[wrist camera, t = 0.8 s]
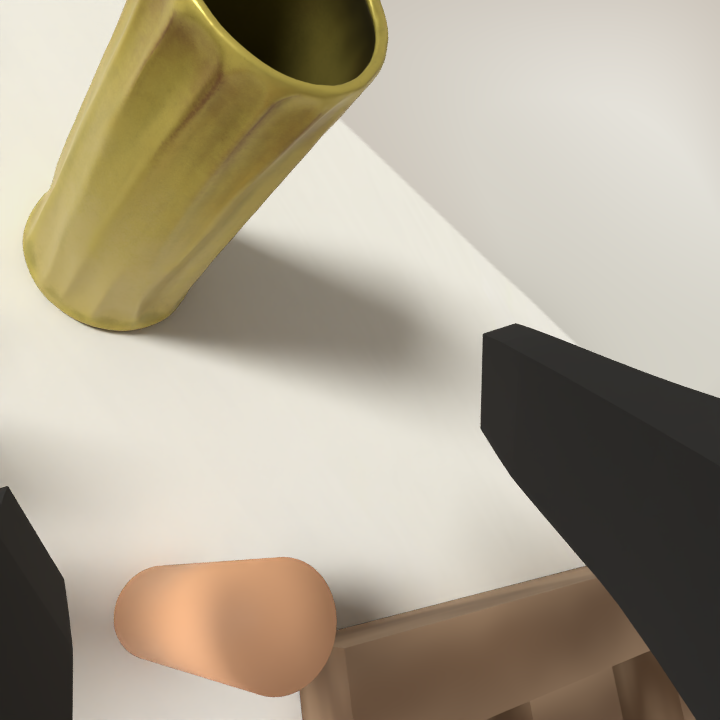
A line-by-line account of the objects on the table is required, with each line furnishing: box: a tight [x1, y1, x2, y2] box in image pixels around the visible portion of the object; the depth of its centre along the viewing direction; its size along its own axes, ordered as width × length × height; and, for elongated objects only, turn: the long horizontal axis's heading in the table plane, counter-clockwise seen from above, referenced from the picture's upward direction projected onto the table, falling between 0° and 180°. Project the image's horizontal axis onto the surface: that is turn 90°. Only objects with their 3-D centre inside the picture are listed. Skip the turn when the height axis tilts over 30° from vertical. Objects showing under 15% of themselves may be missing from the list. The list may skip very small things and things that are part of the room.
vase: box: [23, 0, 388, 331], centre depth 19 cm, size 6×6×14 cm
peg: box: [114, 557, 337, 697], centre depth 18 cm, size 3×3×9 cm
